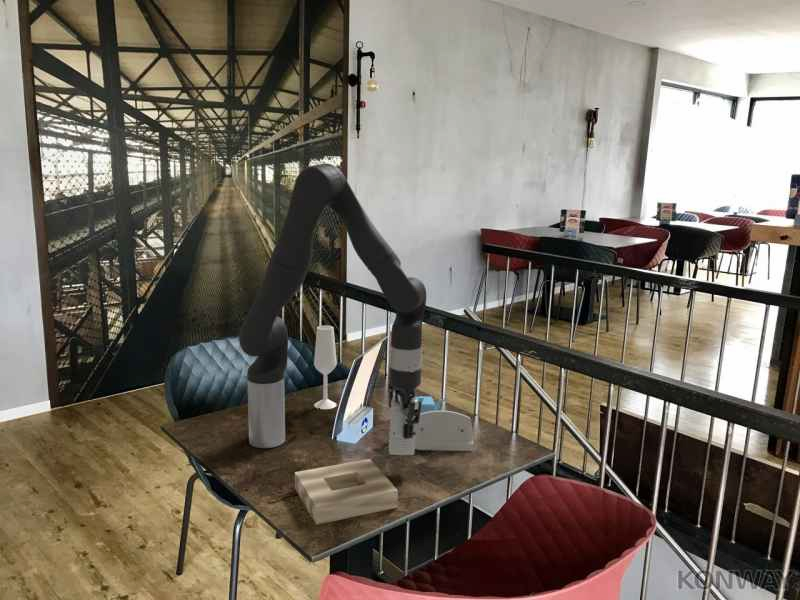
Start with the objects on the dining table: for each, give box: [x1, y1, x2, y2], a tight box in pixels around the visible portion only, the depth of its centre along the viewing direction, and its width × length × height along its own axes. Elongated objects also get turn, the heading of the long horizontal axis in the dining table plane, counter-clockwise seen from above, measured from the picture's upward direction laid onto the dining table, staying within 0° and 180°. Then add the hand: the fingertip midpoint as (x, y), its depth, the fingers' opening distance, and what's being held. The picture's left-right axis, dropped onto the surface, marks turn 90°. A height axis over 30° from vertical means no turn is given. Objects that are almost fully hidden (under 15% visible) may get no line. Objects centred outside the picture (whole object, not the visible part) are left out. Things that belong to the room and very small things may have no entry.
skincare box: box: [388, 400, 416, 456], centre depth 155 cm, size 6×4×12 cm
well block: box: [294, 458, 399, 526], centre depth 143 cm, size 16×18×4 cm
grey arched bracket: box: [415, 409, 475, 452], centre depth 171 cm, size 17×5×10 cm, turn 89°
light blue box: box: [415, 395, 446, 413], centre depth 185 cm, size 12×6×8 cm, turn 96°
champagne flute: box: [313, 325, 338, 410], centre depth 194 cm, size 7×7×24 cm
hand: (402, 432), depth 155 cm, fingers closed on skincare box, 5 cm apart
